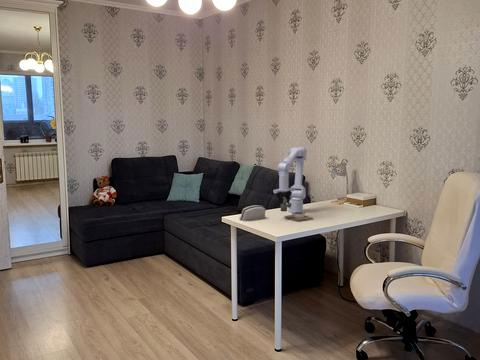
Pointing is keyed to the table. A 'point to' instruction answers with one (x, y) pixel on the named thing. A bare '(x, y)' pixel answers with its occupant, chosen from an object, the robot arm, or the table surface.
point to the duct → (298, 217)
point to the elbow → (285, 204)
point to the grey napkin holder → (253, 213)
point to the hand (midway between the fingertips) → (283, 203)
